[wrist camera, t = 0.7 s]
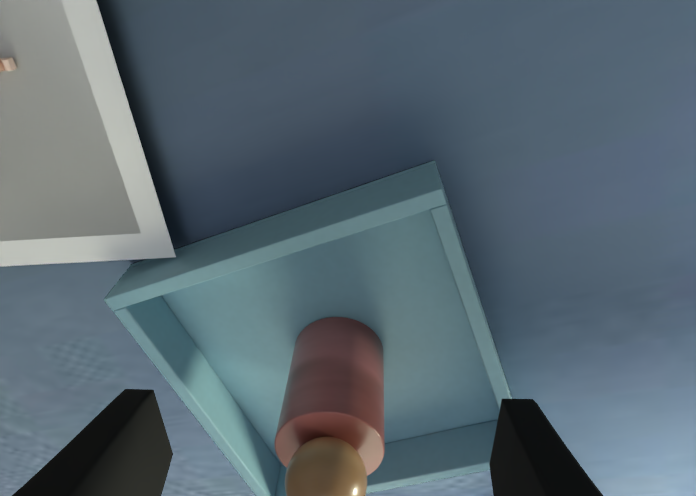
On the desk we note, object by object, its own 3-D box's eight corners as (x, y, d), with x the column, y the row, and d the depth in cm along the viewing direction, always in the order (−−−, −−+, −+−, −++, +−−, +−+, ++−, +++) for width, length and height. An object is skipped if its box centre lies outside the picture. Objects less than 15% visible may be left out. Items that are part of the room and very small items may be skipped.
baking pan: (518, 417, 25) (531, 462, 22) (277, 469, 28) (268, 513, 25) (434, 159, 18) (442, 188, 16) (130, 264, 21) (102, 299, 19)
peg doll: (395, 371, 23) (402, 544, 16) (315, 391, 24) (291, 563, 17) (365, 305, 21) (358, 470, 14) (279, 330, 22) (237, 495, 15)
